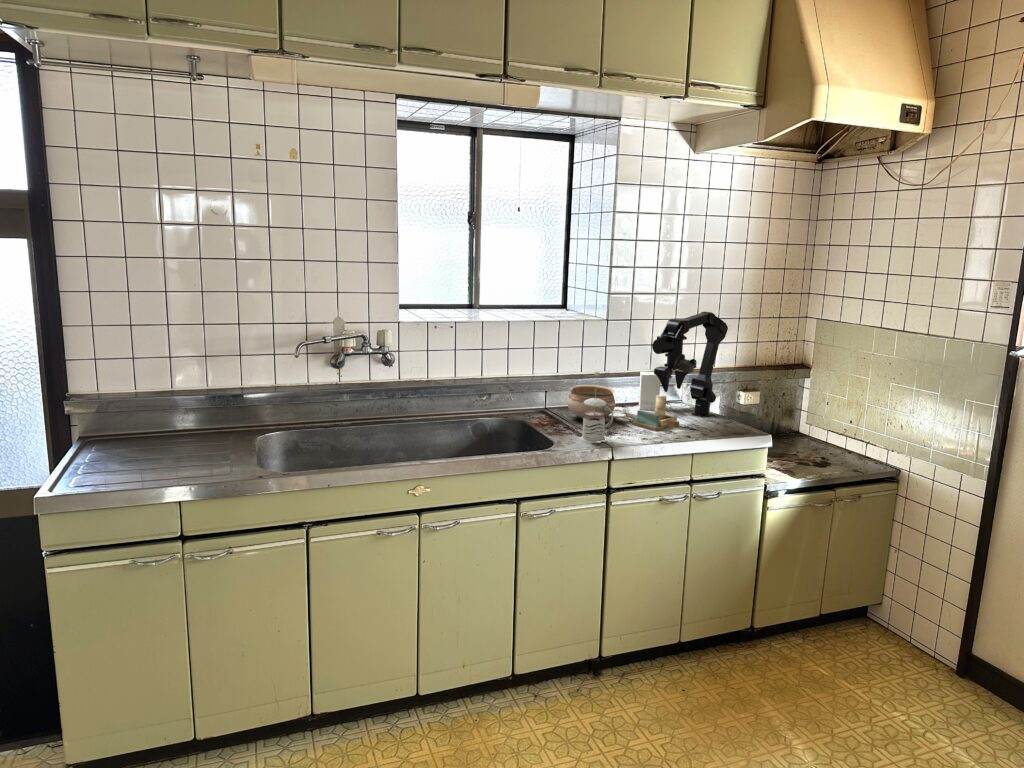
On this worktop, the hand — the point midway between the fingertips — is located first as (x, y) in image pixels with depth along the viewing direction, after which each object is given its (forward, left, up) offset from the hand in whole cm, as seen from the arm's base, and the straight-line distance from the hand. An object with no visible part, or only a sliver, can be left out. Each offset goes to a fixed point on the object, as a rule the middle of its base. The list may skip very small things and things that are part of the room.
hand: (672, 390), depth 282 cm
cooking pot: (+24, -21, -13) cm, 35 cm away
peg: (+7, 0, -11) cm, 13 cm away
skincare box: (-10, -18, -13) cm, 24 cm away
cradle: (+9, 0, -13) cm, 16 cm away
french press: (+44, -1, -13) cm, 46 cm away
